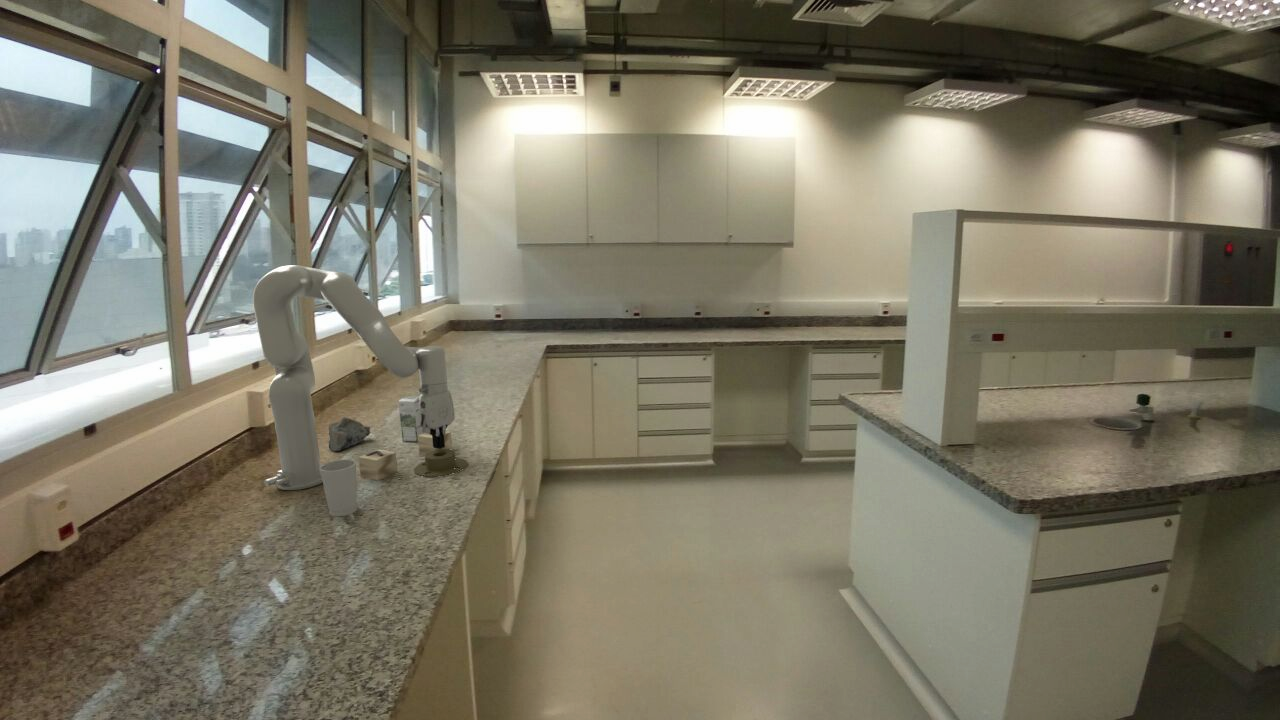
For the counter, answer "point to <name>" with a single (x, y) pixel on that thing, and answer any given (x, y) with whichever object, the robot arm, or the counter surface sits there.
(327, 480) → the cup
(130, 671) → the counter surface
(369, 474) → the numeral block seven
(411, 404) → the syrup box
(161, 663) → the counter surface
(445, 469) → the flange
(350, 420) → the mineral rock
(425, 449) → the numeral block one
